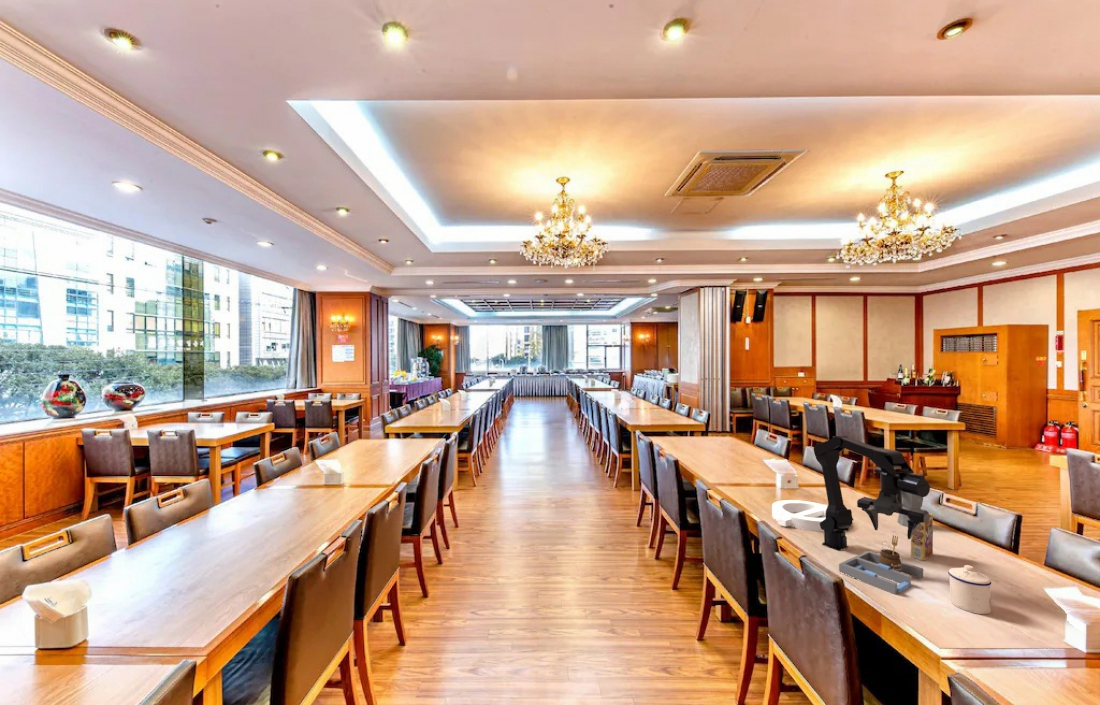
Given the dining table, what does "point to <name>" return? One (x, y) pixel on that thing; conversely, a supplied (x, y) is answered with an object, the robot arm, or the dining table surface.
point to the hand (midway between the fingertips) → (892, 534)
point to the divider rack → (879, 572)
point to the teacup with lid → (970, 590)
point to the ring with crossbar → (799, 514)
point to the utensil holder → (891, 556)
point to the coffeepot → (909, 506)
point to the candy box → (922, 540)
